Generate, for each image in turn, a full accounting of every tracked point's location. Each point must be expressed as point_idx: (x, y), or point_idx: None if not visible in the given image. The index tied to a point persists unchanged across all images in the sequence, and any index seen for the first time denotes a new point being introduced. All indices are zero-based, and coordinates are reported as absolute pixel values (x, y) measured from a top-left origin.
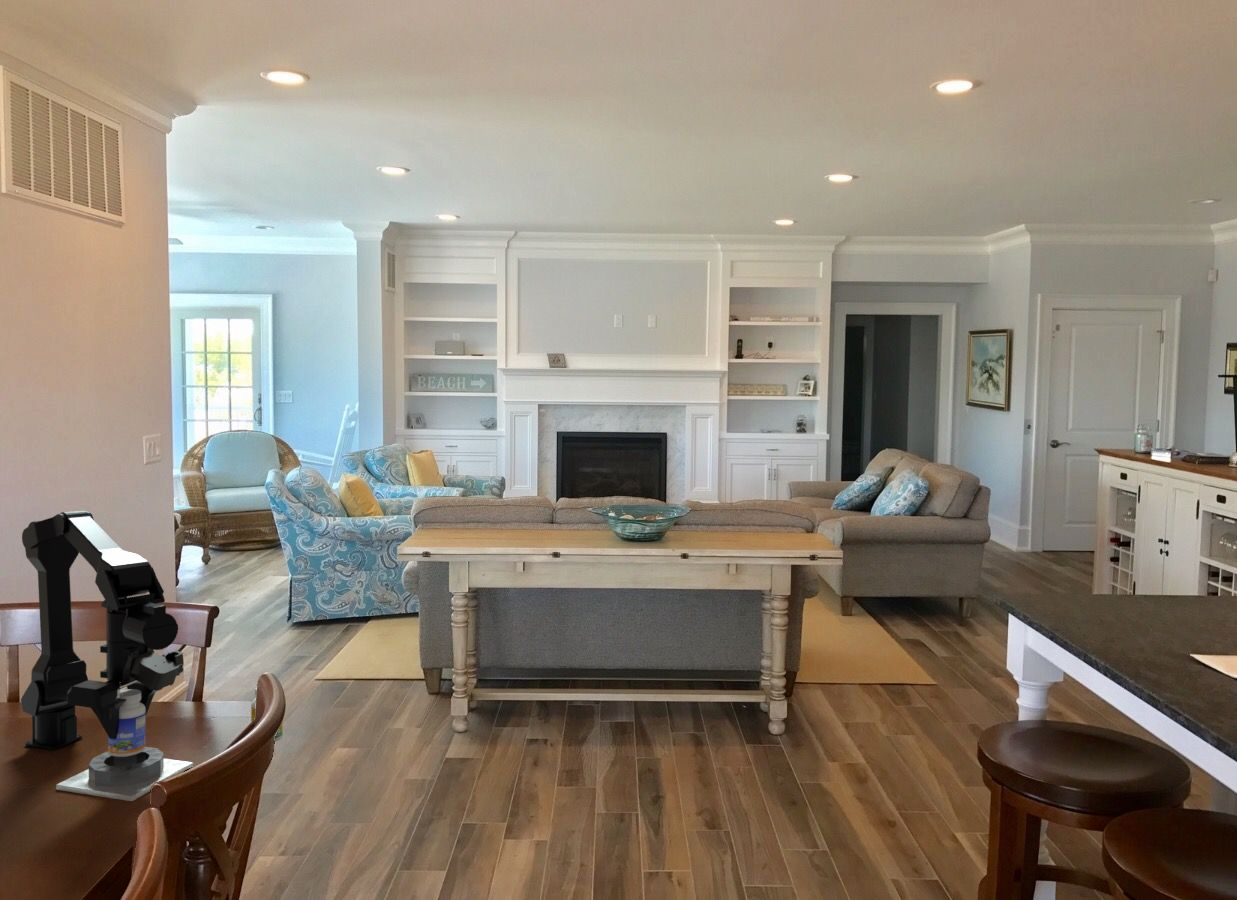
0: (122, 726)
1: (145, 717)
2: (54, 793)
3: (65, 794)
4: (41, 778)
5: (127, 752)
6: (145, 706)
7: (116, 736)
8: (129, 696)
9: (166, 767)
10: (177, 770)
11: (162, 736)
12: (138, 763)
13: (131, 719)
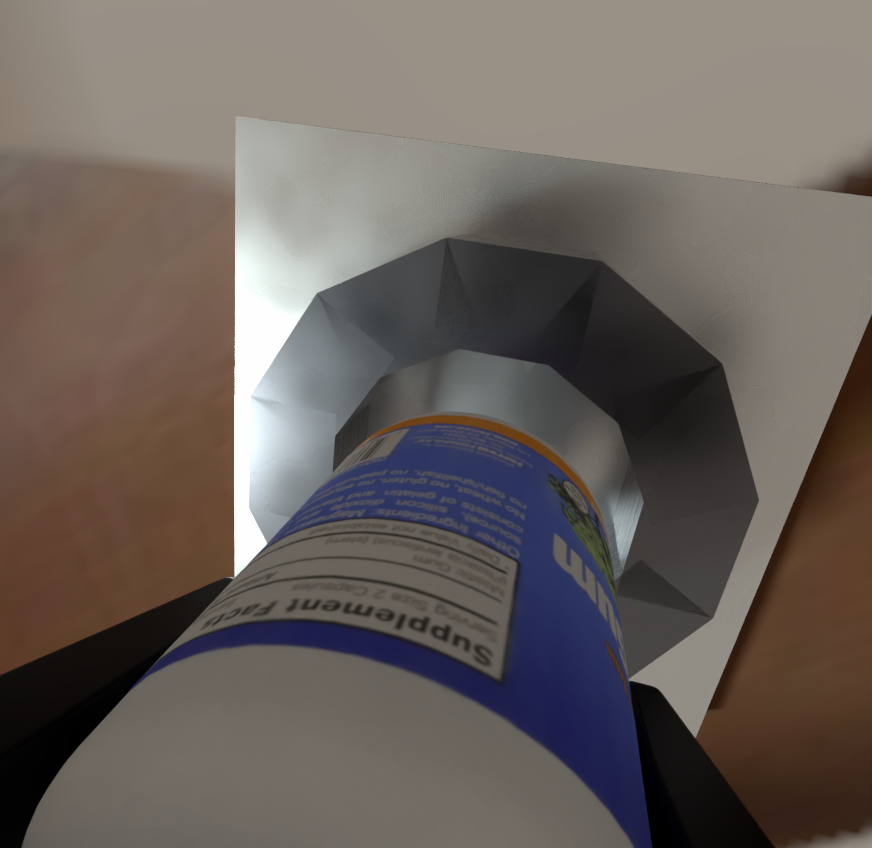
0: (637, 752)
1: (145, 614)
2: (739, 704)
3: (753, 652)
4: None
5: (586, 492)
6: (25, 745)
7: (647, 696)
8: None
9: (358, 257)
10: (387, 143)
11: None
12: None
13: (576, 742)
